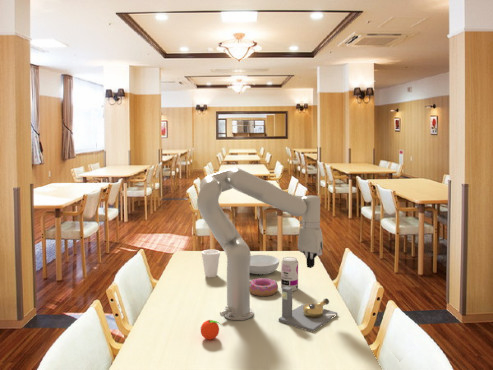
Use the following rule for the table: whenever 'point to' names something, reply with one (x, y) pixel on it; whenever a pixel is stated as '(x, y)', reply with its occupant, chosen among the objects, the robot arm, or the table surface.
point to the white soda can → (289, 273)
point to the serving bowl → (263, 264)
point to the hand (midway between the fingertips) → (310, 266)
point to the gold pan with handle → (314, 309)
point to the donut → (263, 287)
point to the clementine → (210, 329)
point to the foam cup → (210, 262)
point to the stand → (300, 313)
